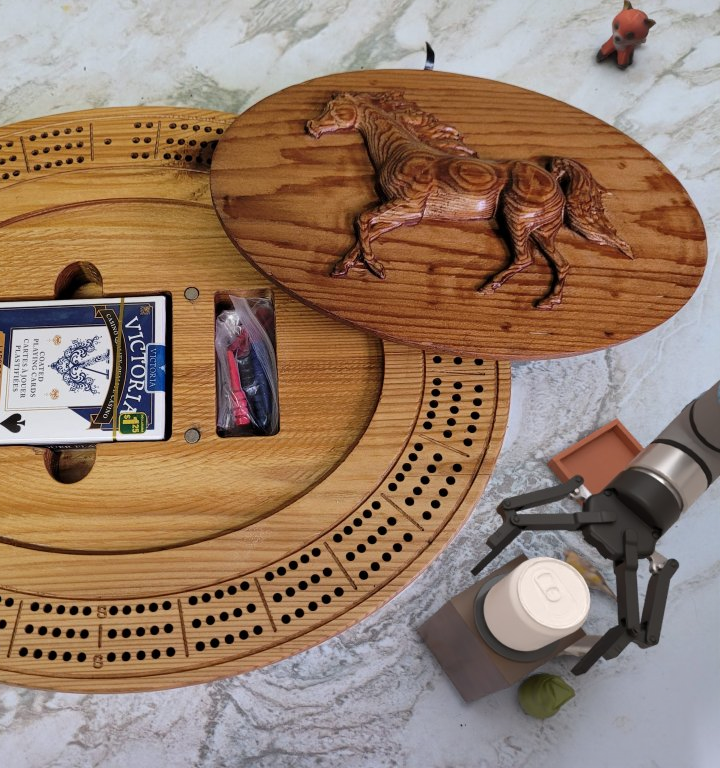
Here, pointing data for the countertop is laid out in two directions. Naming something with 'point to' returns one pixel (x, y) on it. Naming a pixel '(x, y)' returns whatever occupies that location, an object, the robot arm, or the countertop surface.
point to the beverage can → (537, 604)
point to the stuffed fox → (626, 34)
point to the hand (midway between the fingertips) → (524, 620)
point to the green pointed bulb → (544, 694)
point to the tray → (597, 457)
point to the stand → (477, 645)
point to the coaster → (493, 641)
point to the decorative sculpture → (592, 581)
